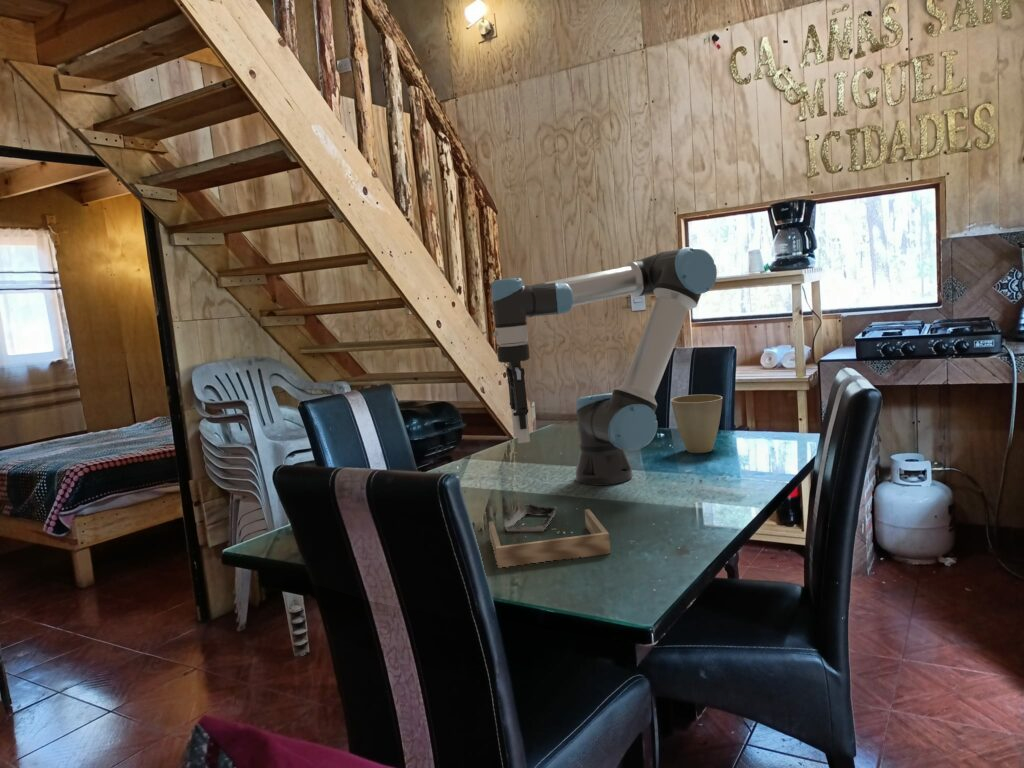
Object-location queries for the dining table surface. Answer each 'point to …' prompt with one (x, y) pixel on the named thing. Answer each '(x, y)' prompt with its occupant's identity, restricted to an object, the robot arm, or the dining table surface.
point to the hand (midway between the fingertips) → (521, 439)
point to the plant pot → (697, 420)
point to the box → (553, 546)
